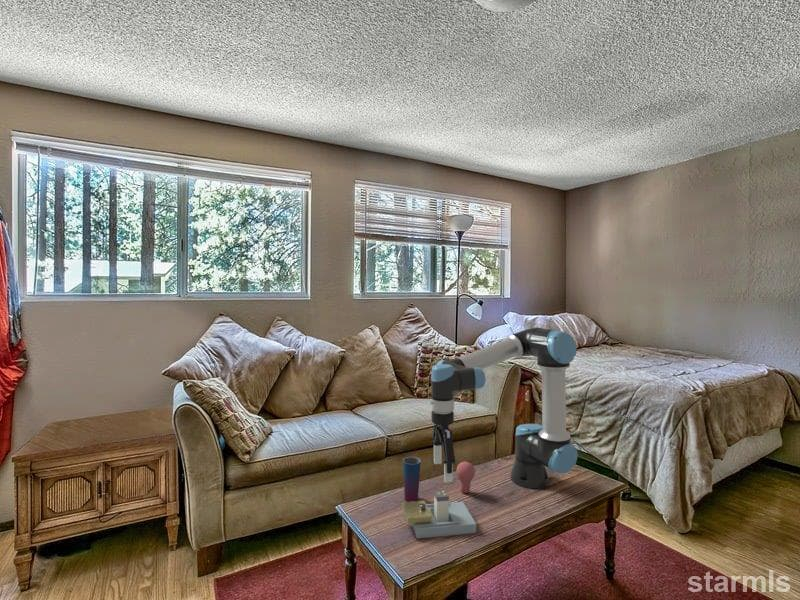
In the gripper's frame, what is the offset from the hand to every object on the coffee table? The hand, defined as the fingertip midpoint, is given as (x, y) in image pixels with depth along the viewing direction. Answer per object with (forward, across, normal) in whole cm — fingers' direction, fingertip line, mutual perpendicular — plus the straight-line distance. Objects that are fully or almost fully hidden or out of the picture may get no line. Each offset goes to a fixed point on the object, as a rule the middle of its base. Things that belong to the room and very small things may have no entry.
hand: (442, 472), depth 141 cm
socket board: (+18, 0, -1) cm, 18 cm away
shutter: (+14, 0, -9) cm, 17 cm away
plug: (+17, 0, -1) cm, 17 cm away
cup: (+18, -17, -8) cm, 26 cm away
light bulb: (+18, -19, +14) cm, 30 cm away
